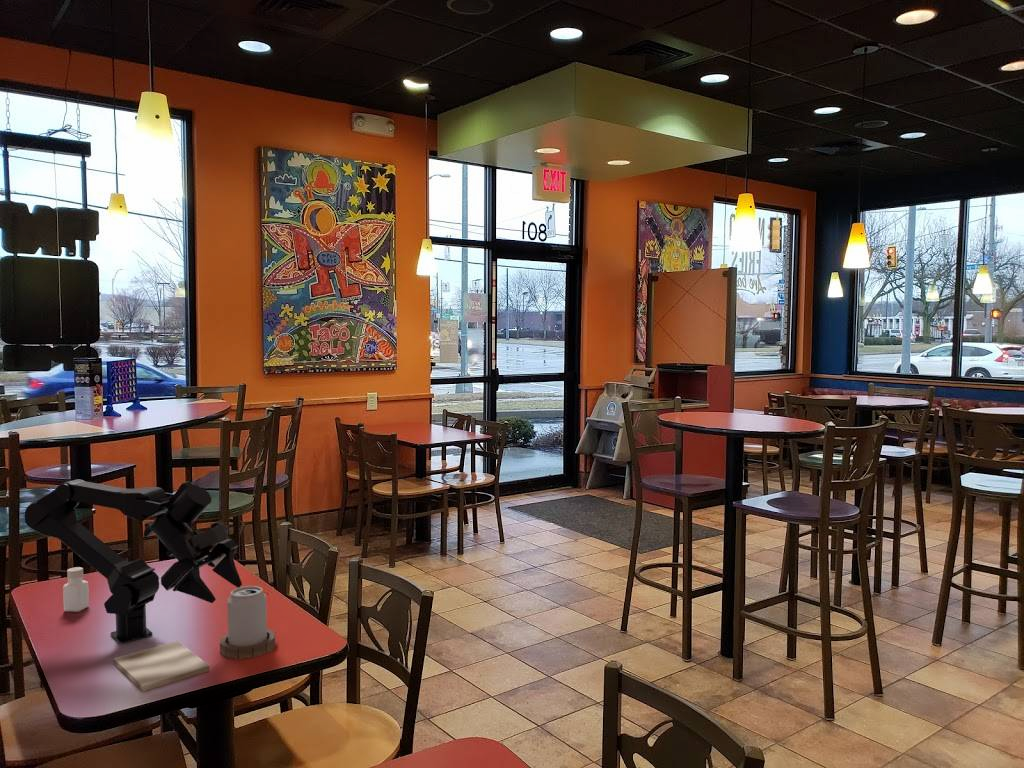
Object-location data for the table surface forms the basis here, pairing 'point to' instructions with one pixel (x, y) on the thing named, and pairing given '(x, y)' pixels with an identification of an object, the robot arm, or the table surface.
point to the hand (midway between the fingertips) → (227, 593)
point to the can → (247, 616)
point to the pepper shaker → (75, 591)
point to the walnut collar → (247, 647)
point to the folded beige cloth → (160, 665)
